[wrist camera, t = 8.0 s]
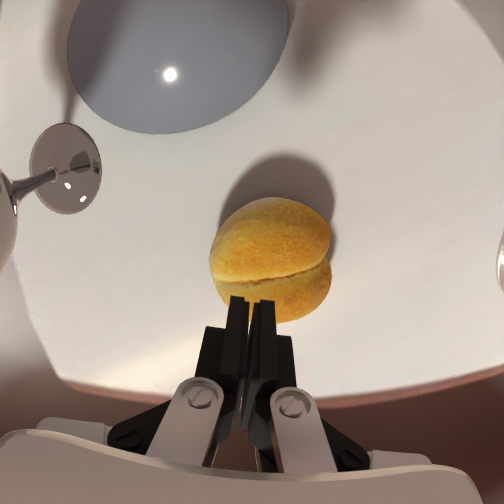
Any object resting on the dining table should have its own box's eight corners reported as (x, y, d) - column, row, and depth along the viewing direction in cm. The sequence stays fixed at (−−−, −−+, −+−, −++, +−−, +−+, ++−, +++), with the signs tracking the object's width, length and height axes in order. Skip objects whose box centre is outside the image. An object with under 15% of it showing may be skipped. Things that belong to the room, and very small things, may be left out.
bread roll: (323, 186, 20) (342, 206, 16) (326, 296, 24) (339, 330, 21) (199, 202, 20) (190, 226, 17) (222, 310, 24) (221, 346, 21)
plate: (296, -42, 13) (300, -55, 11) (268, 142, 19) (270, 145, 17) (101, -39, 12) (90, -48, 11) (73, 130, 18) (58, 133, 17)
